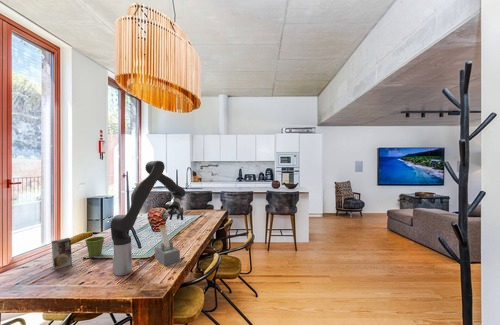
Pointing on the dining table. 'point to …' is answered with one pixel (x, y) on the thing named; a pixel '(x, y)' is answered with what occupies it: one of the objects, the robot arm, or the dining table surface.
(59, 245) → the coffee box
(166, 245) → the breaker lever
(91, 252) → the plant pot
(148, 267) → the dining table surface
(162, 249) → the box
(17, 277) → the dining table surface
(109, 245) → the dining table surface
